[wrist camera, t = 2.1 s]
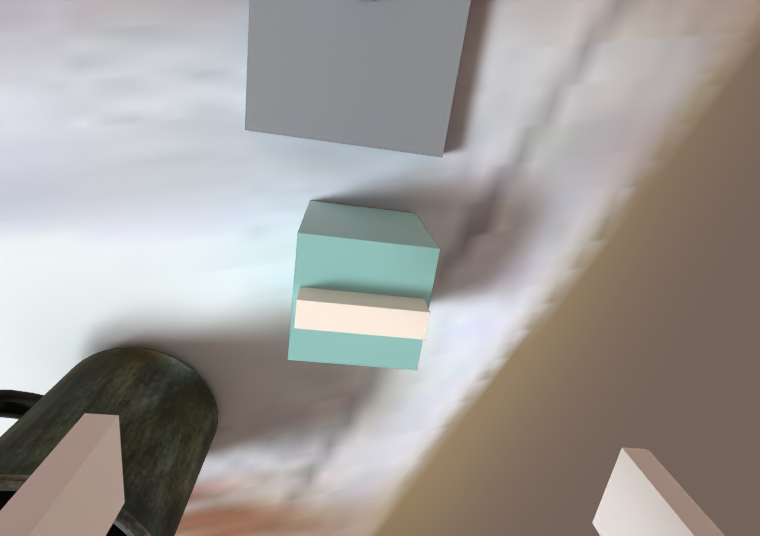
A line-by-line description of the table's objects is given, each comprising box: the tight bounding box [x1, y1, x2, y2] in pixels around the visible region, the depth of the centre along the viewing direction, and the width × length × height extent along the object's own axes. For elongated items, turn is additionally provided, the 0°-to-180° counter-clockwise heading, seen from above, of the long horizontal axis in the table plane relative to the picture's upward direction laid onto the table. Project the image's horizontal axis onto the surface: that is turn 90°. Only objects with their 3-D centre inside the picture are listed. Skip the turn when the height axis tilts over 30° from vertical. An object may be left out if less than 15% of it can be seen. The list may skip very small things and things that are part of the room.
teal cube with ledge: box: [288, 200, 440, 370], centre depth 24 cm, size 7×7×9 cm
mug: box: [0, 348, 218, 536], centre depth 25 cm, size 11×15×12 cm
